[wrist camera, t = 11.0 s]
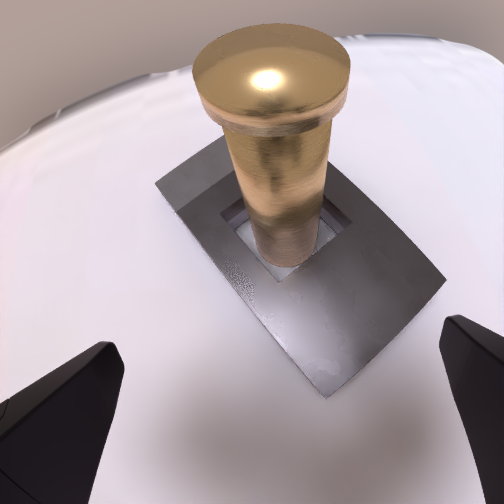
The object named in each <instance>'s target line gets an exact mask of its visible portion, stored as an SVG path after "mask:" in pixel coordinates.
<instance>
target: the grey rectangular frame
mask: <svg viewBox="0 0 504 504" xmlns="http://www.w3.org/2000/svg"><path fill="white" fill-rule="evenodd" d="M155 185H156V186H157V188H158V189H159V190H160V192H161V193H162V195H163V196H164V197H165V199H166V200H167V201H168V203H169V204H170V205H171V207H172V208H173V209H174V211H175V212H176V213H177V215H178V216H179V218H180V219H181V220H182V222H183V223H184V224H185V225H186V227H187V228H188V229H189V231H190V232H191V233H192V235H193V236H194V237H195V239H196V240H197V241H198V243H199V244H200V245H201V247H202V248H203V249H204V250H205V252H206V253H207V254H208V256H209V257H210V258H211V260H212V261H213V262H214V263H215V265H216V266H217V267H218V269H219V270H220V271H221V272H222V274H223V275H224V276H225V278H226V279H227V280H228V281H229V283H230V284H231V285H232V287H233V288H234V289H235V290H236V292H237V293H238V294H239V295H240V297H241V298H242V299H243V300H244V302H245V303H246V304H247V305H248V307H249V308H250V309H251V310H252V312H253V313H254V314H255V315H256V317H257V318H258V319H259V320H260V322H261V323H262V324H263V325H264V327H265V328H266V329H267V330H268V332H269V333H270V334H271V335H272V336H273V338H274V339H275V340H276V341H277V342H278V343H279V344H280V346H281V347H282V348H283V349H284V350H285V352H286V353H287V354H288V355H289V357H290V358H291V359H292V360H293V361H294V363H295V364H296V365H297V366H298V367H299V369H300V370H301V371H302V372H303V373H304V375H305V376H306V377H307V378H308V379H309V380H310V382H311V383H312V384H313V385H314V386H315V388H316V389H317V390H318V391H319V392H320V393H321V395H322V396H323V397H324V398H325V399H326V398H328V397H329V396H330V395H331V394H333V393H334V392H335V391H336V390H337V389H339V388H340V387H341V386H342V385H343V384H344V383H346V382H347V381H348V380H349V379H350V378H351V377H353V376H354V375H355V374H356V373H357V372H358V371H359V370H360V369H362V368H363V367H364V366H365V365H366V364H367V363H368V362H369V361H370V360H371V359H372V358H374V357H375V356H376V355H377V354H378V353H379V352H380V351H381V350H382V349H383V348H384V347H385V346H386V345H387V344H388V343H389V342H390V341H391V340H392V339H393V338H394V337H395V336H396V335H397V334H398V333H399V332H400V331H401V330H402V329H403V328H404V327H405V326H406V325H407V324H408V323H409V322H410V321H411V320H412V319H413V318H414V317H415V315H416V314H417V313H418V312H419V311H420V310H421V309H422V308H423V307H424V306H425V305H426V303H427V302H428V301H429V300H430V299H431V298H432V297H433V296H434V294H435V293H436V292H437V291H438V290H439V289H440V287H441V286H442V285H443V284H444V283H445V281H446V278H445V277H444V276H443V275H442V274H441V273H440V271H439V270H438V269H437V268H436V267H435V266H434V265H433V264H432V262H431V261H430V260H429V259H428V258H427V257H426V256H425V255H424V254H423V252H422V251H421V250H420V249H419V248H418V247H417V246H416V245H415V244H414V243H413V242H412V241H411V240H410V239H409V238H408V236H407V235H406V234H405V233H404V232H403V231H402V230H401V229H400V228H399V227H398V226H397V225H396V224H395V223H394V222H393V221H392V220H391V219H390V218H389V217H388V216H387V215H386V214H385V213H384V212H383V211H382V210H381V209H380V208H379V207H378V206H377V205H376V204H375V203H374V202H373V201H371V200H370V199H369V198H368V197H367V196H366V195H365V194H364V193H363V192H362V191H361V190H360V189H359V188H358V187H357V186H355V185H354V184H353V183H352V182H351V181H350V180H349V179H348V178H347V177H346V176H344V175H343V174H342V173H341V172H340V171H339V170H338V169H337V168H335V167H334V166H333V165H332V164H331V163H330V162H329V161H327V169H326V177H325V184H324V192H323V199H322V206H321V213H320V217H321V218H322V219H323V220H324V221H325V222H326V223H327V224H328V225H329V226H330V227H331V228H332V229H333V230H334V231H335V232H336V233H337V234H338V235H337V236H336V237H334V238H333V239H332V240H331V241H330V242H328V243H327V244H326V245H325V246H324V247H322V248H321V249H320V250H319V251H317V252H316V253H315V254H314V255H313V256H311V257H310V258H309V259H308V260H307V261H305V262H304V263H303V264H302V265H300V266H299V267H298V268H297V269H295V270H294V271H293V272H292V273H291V274H289V275H288V276H287V277H286V278H284V279H283V280H282V281H281V282H279V283H278V282H277V281H276V280H275V278H274V277H273V276H272V275H271V274H270V273H269V271H268V270H267V269H266V268H265V267H264V266H263V264H262V263H261V262H260V261H259V260H258V259H257V257H256V256H255V255H254V254H253V253H252V252H251V250H250V249H249V248H248V247H247V246H246V244H245V243H244V242H243V241H242V240H241V239H240V237H239V236H238V235H237V234H236V233H235V232H234V230H235V229H236V228H237V227H239V226H240V225H241V224H243V223H244V222H245V221H247V220H248V219H249V217H248V213H247V210H246V206H245V203H244V200H243V196H242V193H241V189H240V186H239V183H238V179H237V176H236V172H235V169H234V166H233V162H232V159H231V155H230V152H229V149H228V145H227V142H226V139H225V135H223V136H222V137H220V138H219V139H217V140H215V141H214V142H212V143H211V144H209V145H208V146H206V147H205V148H203V149H202V150H201V151H199V152H198V153H196V154H195V155H193V156H192V157H190V158H189V159H187V160H186V161H185V162H183V163H182V164H180V165H179V166H177V167H176V168H175V169H173V170H172V171H171V172H169V173H168V174H166V175H165V176H164V177H162V178H161V179H160V180H158V181H157V182H156V183H155Z"/></svg>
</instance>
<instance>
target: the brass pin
mask: <svg viewBox="0 0 504 504" xmlns="http://www.w3.org/2000/svg"><path fill="white" fill-rule="evenodd" d="M192 73H193V78H194V81H195V84H196V87H197V90H198V93H199V96H200V99H201V102H202V105H203V107H204V110H205V111H206V113H207V114H208V116H209V117H210V118H211V119H212V120H213V121H215V122H216V123H217V124H219V125H221V126H222V128H223V132H224V135H225V139H226V142H227V145H228V149H229V152H230V155H231V159H232V162H233V166H234V169H235V172H236V176H237V179H238V183H239V186H240V189H241V193H242V196H243V200H244V203H245V206H246V210H247V213H248V217H249V220H250V224H251V227H252V230H253V234H254V237H255V241H256V244H257V248H258V250H259V252H260V254H261V255H262V257H263V258H264V259H265V260H266V261H268V262H269V263H271V264H273V265H275V266H279V267H293V266H296V265H299V264H301V263H303V262H304V261H306V260H307V259H308V258H309V257H310V255H311V254H312V252H313V251H314V248H315V245H316V239H317V232H318V226H319V219H320V213H321V206H322V199H323V192H324V184H325V177H326V169H327V161H328V153H329V144H330V135H331V126H332V118H334V117H335V116H336V115H337V114H338V113H339V112H340V110H341V109H342V107H343V106H344V103H345V101H346V97H347V91H348V83H349V75H350V58H349V55H348V53H347V51H346V50H345V48H344V47H343V46H342V45H341V44H340V43H339V42H338V41H337V40H335V39H334V38H332V37H331V36H329V35H327V34H325V33H323V32H320V31H318V30H315V29H312V28H309V27H305V26H300V25H293V24H279V23H278V24H276V23H275V24H261V25H254V26H249V27H245V28H241V29H238V30H235V31H232V32H230V33H227V34H225V35H223V36H221V37H219V38H217V39H216V40H214V41H212V42H211V43H210V44H209V45H207V46H206V47H205V48H204V49H203V50H202V51H201V52H200V53H199V55H198V56H197V58H196V60H195V61H194V64H193V69H192Z"/></svg>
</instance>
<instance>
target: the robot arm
mask: <svg viewBox="0 0 504 504" xmlns="http://www.w3.org/2000/svg"><path fill="white" fill-rule="evenodd" d="M439 348H440V352H441V355H442V359H443V362H444V365H445V369H446V372H447V376H448V380H449V383H450V387H451V391H452V394H453V397H454V400H455V403H456V405H457V408H458V411H459V414H460V416H461V419H462V422H463V425H464V428H465V431H466V434H467V437H468V440H469V443H470V446H471V449H472V453H473V456H474V459H475V463H476V466H477V470H478V474H479V477H480V481H481V485H482V489H483V493H484V497H485V502H486V504H504V337H502V336H501V335H499V334H497V333H495V332H493V331H491V330H489V329H487V328H485V327H483V326H481V325H479V324H477V323H475V322H473V321H472V320H470V319H468V318H466V317H464V316H462V315H453V316H448V317H447V318H446V319H445V321H444V325H443V329H442V333H441V337H440V341H439ZM124 369H125V368H124V363H123V361H122V359H121V356H120V354H119V352H118V350H117V348H116V346H115V344H114V343H113V342H105V341H101V342H98V343H97V344H95V345H94V346H92V347H90V348H89V349H87V350H85V351H84V352H82V353H81V354H79V355H77V356H76V357H74V358H73V359H71V360H69V361H68V362H66V363H65V364H63V365H61V366H60V367H58V368H56V369H55V370H53V371H52V372H50V373H48V374H47V375H45V376H44V377H42V378H40V379H39V380H37V381H36V382H34V383H32V384H31V385H29V386H28V387H26V388H24V389H23V390H21V391H20V392H18V393H16V394H15V395H13V396H12V397H10V399H7V400H5V401H3V402H2V403H0V504H88V502H89V498H90V495H91V491H92V487H93V484H94V480H95V476H96V473H97V469H98V466H99V463H100V459H101V456H102V452H103V449H104V446H105V443H106V440H107V436H108V433H109V430H110V427H111V424H112V421H113V417H114V414H115V410H116V406H117V401H118V397H119V392H120V388H121V383H122V379H123V375H124Z"/></svg>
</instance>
